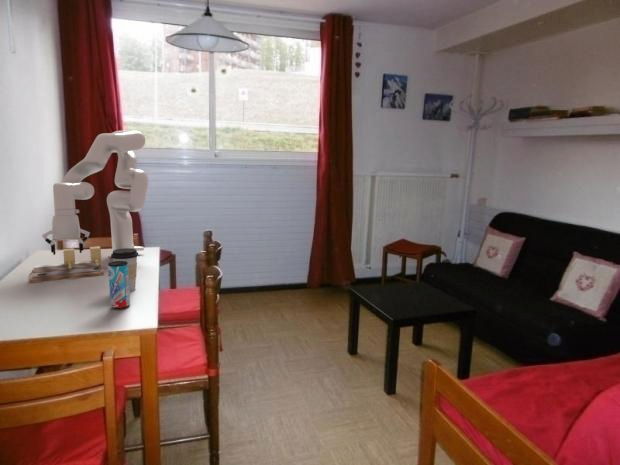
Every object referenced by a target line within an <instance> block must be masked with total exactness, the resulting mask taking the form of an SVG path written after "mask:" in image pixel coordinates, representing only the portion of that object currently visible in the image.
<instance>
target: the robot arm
mask: <svg viewBox="0 0 620 465" xmlns="http://www.w3.org/2000/svg"><path fill="white" fill-rule="evenodd" d="M145 145H146V137H145V135H144V133H142V132H141V131H138V130H116V131H113V132H111V133H110V132H109V133H108V132H107V133H106V132H105V133H100V134H98V135H97V136H96V137H95V139H94V141H93V142H92V145H91V146H90V148H89V150H88V152H87V153H86V155H85V157H84V158H83V159H82V160H80V161H79V162H78V163H76V164H75V165H74V166H72V167H71V168H70V169H69V170H68V171H67V172H66V173H65V175H64V177H63V179H62V180H61V182H55V183H53V186H52V189H53V190H52V191H53V192H52V193H53V194H52V195H53V207H54V208H53V209H54V215H52V221H51V224H52V225H51V226H52V228H51V230H49V231H47V232H44V233H43V234H42V238H43V240H44V241H45V242H46V243H47V244H49V245H50V250H51V253H53V256H55V255H56V244H55V243H56V242H57V241H71V240H73V241H75V240H77V241H78V242H79V243H78V247H79V248H78V250H79V253H80V254H81V253H82V251H84V244H85V242H86V241H87V240H88V238H89V236H90V234H91V232H89V231H87V230H85V229H82V228H81V227H80V220H79V219H80V218H79V216H78V215H77V214H78V213H79V214H80V209H76V200H89V199H91V198H92V197H94V195H95V188H94V185H92V184H91V183H89V182H86V181H83V180H84V179H85V178H87V177H89V176H90V175H93V174H96V173H98V172H100V171H103V169H104V168H105V167H106V164H108V161H109V159H110V158H111V155H112V154H113V153H117V158H118V159H117V167H116V171H115V176H114V184H115V186H116V187H117V188H120V189H125V190H113V191H111V192H110V193H108V195H107V197H106V204H107V205H106V206H107V209H108V213H109V220H110V232H111V234H110V235H111V248H112V250H111V251H112V252H109V253H108V255H109V256H108V257H109V258H111V254H113V251H114V250H117V249H123V248H132V249H136V252H141V251H144V250H145V248H144V246H139V245H138V246H135V244H134V233H133V218H132V216H131V213H130V212H132V213H137V212H140V211H141V210H142V209H143V208H144V206H145V201H146V198H147V193H148V186H149V177H148V174H147V173H146V172H145V171H144V170H142V169H139V168H138V169H137V166H138V158H137V155H136V153H135V151H137V150H140V149H142V148H144V146H145ZM126 189H127V190H128V191H127V190H126ZM81 233H82V234H84V237H83V238H81ZM50 235H52V240H50V238H49V237H48V236H50Z"/></svg>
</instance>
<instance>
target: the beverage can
mask: <svg viewBox="0 0 620 465" xmlns="http://www.w3.org/2000/svg"><path fill="white" fill-rule="evenodd" d="M107 268H108V269H107V270H108V271H107V272H108V285H109V296H110V297H109V298H110V307H111V309H112V310H125V309H127V308H129V307H130V306H131V297H130V296H131V294H130V293H131V292H129V276H128V262H126V261H114V262H113V261H110V262H108V263H107Z"/></svg>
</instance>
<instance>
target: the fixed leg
mask: <svg viewBox="0 0 620 465" xmlns="http://www.w3.org/2000/svg"><path fill="white" fill-rule="evenodd" d="M89 252H90V253H89V254H90V255H89V257H90V261H91V263H92V262H96V268H98V267H99V265H98V262H99V263H101V262H102V250H101V246H99V245H98V246H89Z"/></svg>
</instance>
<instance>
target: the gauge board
mask: <svg viewBox="0 0 620 465" xmlns="http://www.w3.org/2000/svg"><path fill="white" fill-rule="evenodd" d="M98 265H99V267H98V268H96V262H92V263H91V260H88V261H87V260H86V261H77V262H76V261H75V264H71V269H72V270H69V265H64V263H56V264H45V265H37V266H36V265H35V266H33V269H31V271H30V276H29V283H30V284H31V283H42V282H50V281H59V280H70V279H76V278H77V279H78V278H87V277H96V276H104V275H105V274H104V273H105V272H104V269H103V265H102V263H101V262H98Z"/></svg>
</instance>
